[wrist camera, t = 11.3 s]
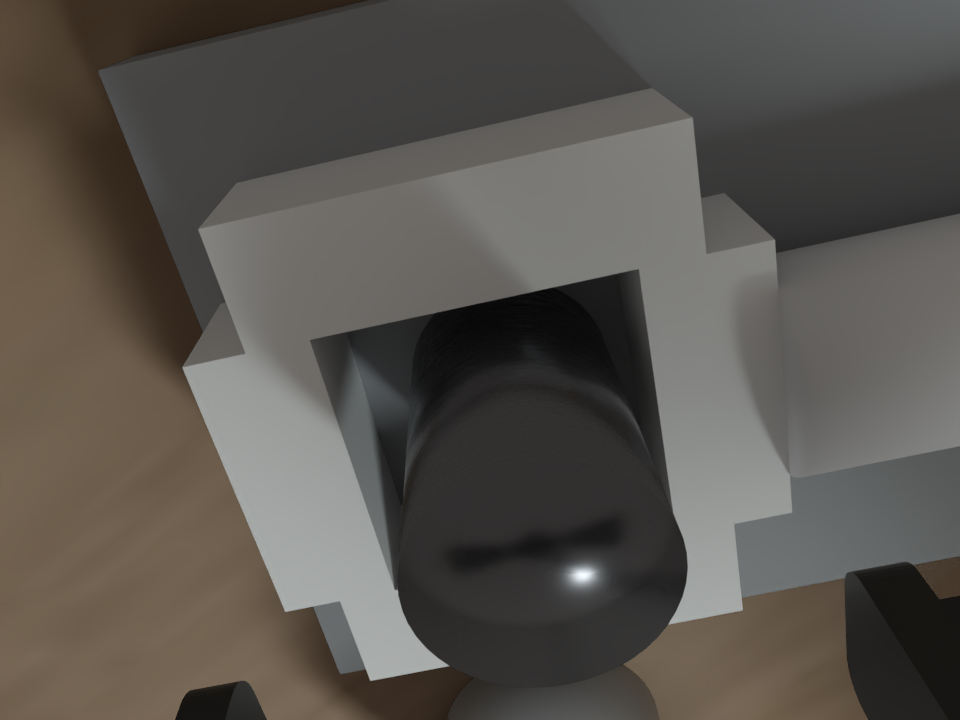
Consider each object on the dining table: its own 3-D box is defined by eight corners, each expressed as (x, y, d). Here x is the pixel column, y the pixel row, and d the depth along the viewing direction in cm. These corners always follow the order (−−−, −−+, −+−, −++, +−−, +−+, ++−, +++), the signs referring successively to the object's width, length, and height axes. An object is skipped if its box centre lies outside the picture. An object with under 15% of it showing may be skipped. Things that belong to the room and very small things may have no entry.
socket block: (1112, -179, 17) (1464, -237, 11) (1044, 485, 24) (1236, 660, 18) (132, 56, 18) (-16, 114, 12) (347, 621, 25) (319, 825, 19)
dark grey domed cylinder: (590, 259, 18) (669, 430, 12) (621, 432, 20) (702, 658, 14) (389, 304, 18) (362, 495, 12) (438, 471, 20) (436, 709, 14)
